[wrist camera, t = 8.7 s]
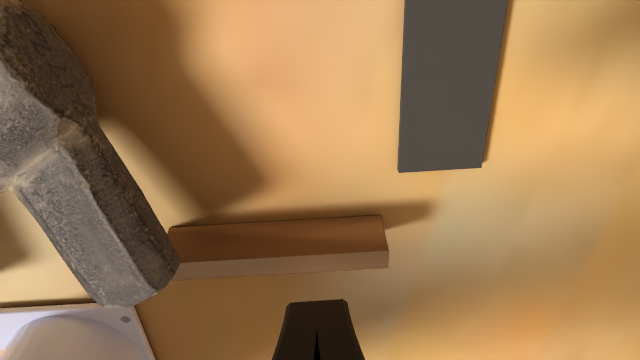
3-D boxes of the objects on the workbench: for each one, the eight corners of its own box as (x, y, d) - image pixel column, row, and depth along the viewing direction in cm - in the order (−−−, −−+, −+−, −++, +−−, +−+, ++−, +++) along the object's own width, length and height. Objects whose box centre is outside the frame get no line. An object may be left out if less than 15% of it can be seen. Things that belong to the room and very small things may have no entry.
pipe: (210, 228, 21) (64, 293, 22) (24, -60, 16) (-148, 41, 17) (172, 319, 15) (-21, 398, 16) (-129, -84, 11) (-366, 68, 12)
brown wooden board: (380, 231, 22) (388, 267, 20) (174, 243, 22) (161, 281, 20) (390, -237, 13) (406, -258, 11) (37, -212, 13) (-15, -229, 11)
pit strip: (479, 164, 20) (481, 167, 20) (397, 169, 20) (398, 172, 20) (520, -101, 15) (524, -101, 15) (408, -94, 15) (410, -93, 15)
